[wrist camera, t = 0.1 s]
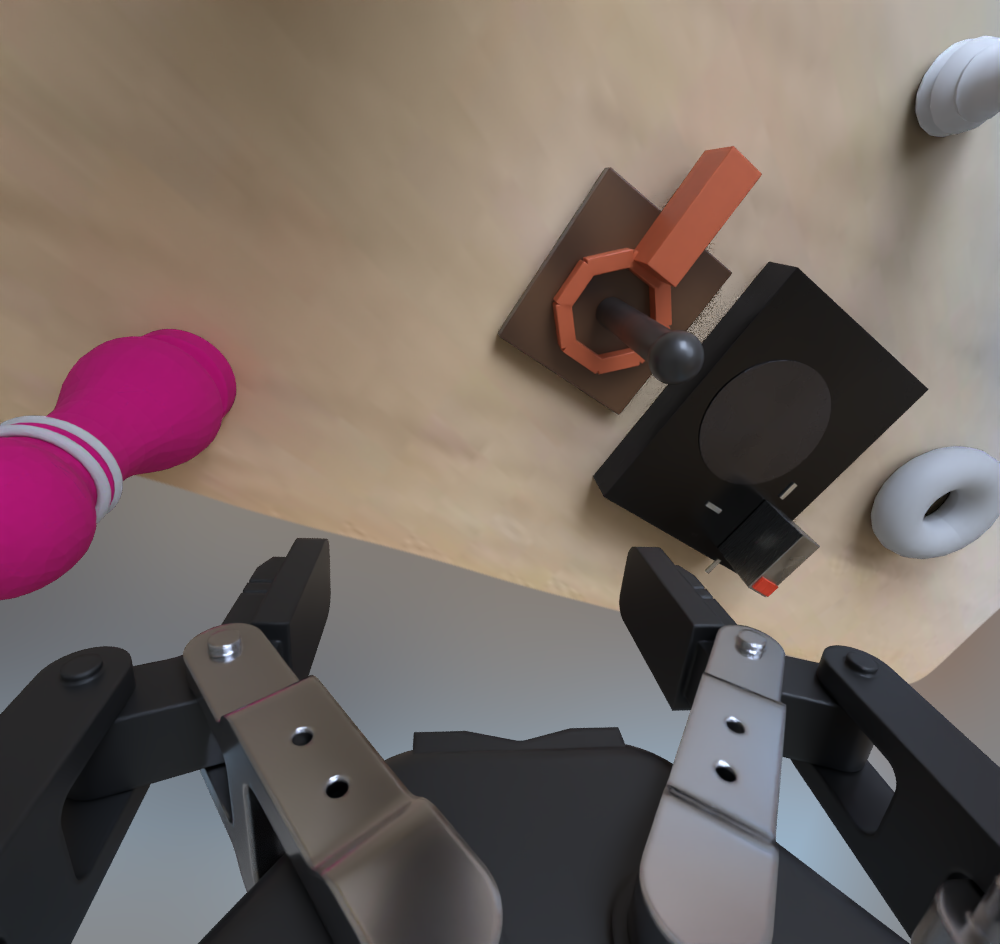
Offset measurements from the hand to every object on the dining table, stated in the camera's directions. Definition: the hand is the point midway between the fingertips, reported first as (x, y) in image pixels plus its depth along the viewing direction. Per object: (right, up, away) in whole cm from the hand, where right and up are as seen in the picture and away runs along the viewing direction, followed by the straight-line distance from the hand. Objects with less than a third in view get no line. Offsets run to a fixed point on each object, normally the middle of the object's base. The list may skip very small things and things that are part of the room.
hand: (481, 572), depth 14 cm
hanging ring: (+9, +15, +17) cm, 25 cm away
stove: (+19, +5, +25) cm, 32 cm away
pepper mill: (-19, +9, +19) cm, 28 cm away
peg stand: (+7, +13, +19) cm, 24 cm away
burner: (+18, +6, +21) cm, 28 cm away
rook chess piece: (+26, +24, +16) cm, 39 cm away
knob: (+19, -2, +25) cm, 32 cm away
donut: (+35, +1, +29) cm, 46 cm away
